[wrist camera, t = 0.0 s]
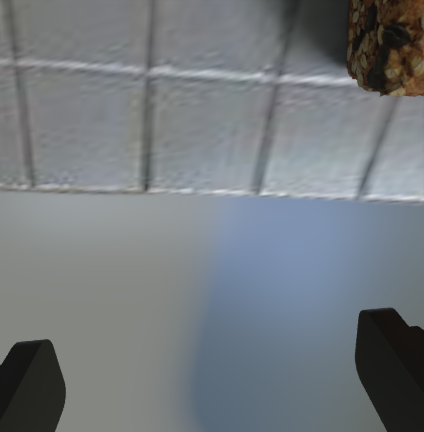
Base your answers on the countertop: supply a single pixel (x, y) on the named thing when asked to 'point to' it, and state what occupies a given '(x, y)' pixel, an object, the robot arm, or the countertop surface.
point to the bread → (387, 46)
